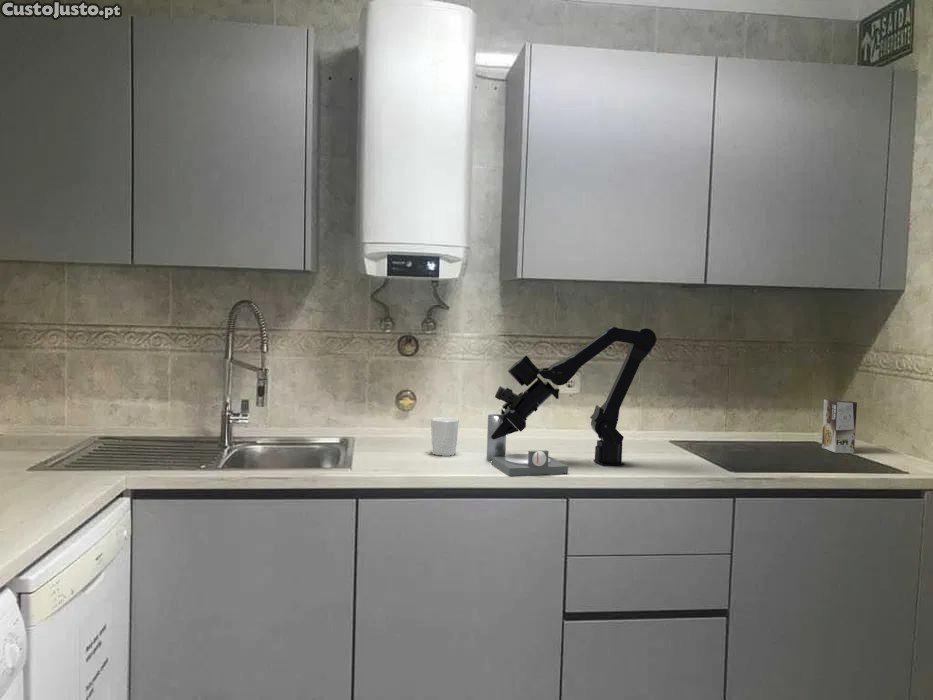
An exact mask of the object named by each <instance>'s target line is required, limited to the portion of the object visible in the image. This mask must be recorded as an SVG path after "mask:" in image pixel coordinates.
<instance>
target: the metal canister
mask: <svg viewBox="0 0 933 700" xmlns="http://www.w3.org/2000/svg"><path fill="white" fill-rule="evenodd" d="M502 418H503V415H501V414H499V413H496V414H495V413H492V414H491V413H490V414H488V415H487V430H486V431H487V433H486V435H487V436H486V437H487V440H486V442H487V443H486V461H487V460H488V461H487V462H489V461H492V457H506V456H507V455H506V452H507V451H506V450H507V449H506V447H507V435H505V436H502V437H500V438H497V439H494V440H493V439H492V438H491V436H492V434H493V433H494V432H495V430H496V429H497V428H498V426H499V425H500V424H501V423H502Z"/></svg>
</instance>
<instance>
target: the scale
mask: <svg viewBox="0 0 933 700" xmlns="http://www.w3.org/2000/svg"><path fill="white" fill-rule="evenodd" d="M491 465H492V466H493V465H494V466H493V467H494V468H496V467H497V468H496V469H498V470H499V469H500V471H501V472H502V471H503V472H502V473H504V474H505V473H506V474H505V475H506V476H508V477H523V476H525V477H526V476H527V475H528V476H543V475H542V474H552V475H567V474H566V473H568V474H569V466H568V465H567V464H564V463H562V462H560V460H559V461H558V460H557V459H555V458H553V457H551V456H549V451H548V450H544V449H543V450H528V453H518V454H517V453H516V454H508V455H505V457H492V462H491ZM564 473H565V474H564Z"/></svg>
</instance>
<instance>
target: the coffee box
mask: <svg viewBox="0 0 933 700" xmlns="http://www.w3.org/2000/svg"><path fill="white" fill-rule="evenodd" d="M857 408H858V402H856V401H850V400H847V399H843V398H842V399H839V398H830V399H829V398H824V399H823V412H822V413H823V418H822V437H821V439H822V440H821V448H822V449H824V450H827V451H830V452H833V453H834V454H835V453H837V454H854V453H855V444H856V443H855V442H856V427H857V426H856V424H857V411H858V410H857ZM853 452H854V453H853Z"/></svg>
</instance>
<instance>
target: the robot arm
mask: <svg viewBox="0 0 933 700" xmlns="http://www.w3.org/2000/svg"><path fill="white" fill-rule="evenodd" d="M615 342H619V343H627V349H626V357H625V359H624V360H623V363H622V364H621V368H620V370H619V372H618V374H617V376H616V378H615V379H614V382H613V385H612V387H611V389H610V391H609V393H608V395H607V397H606V399H605V401H604V403H603V404H601V406H599V405H598V404H596V405H595V407H594V411H593V413H592V415H590V417H589V418H590V420H591V421H590V426H591V429H592V430H593V432H594V433H596V435H597V437H598V440H596V446H595V447H594V449H595V450H594V458H593V461H594V462H595V463H597V464H599V465H601V466H606V467H607V466H625V462H623V460H622V459H623V441H624V437H625V436H623V434H622V433H620V432H619V431H618V430H617V426H618V422H619V415H620V408H621V406H622V404H623V402H624V400H625V398H626V396H627V394H628V392H629V389H630V388H631V385H632V383H633V380H634V378H635V375H636V374H637V372H638V369H639V367H640V365H641V363H642V361H643V360H644V359H646V357H647V356H648V355H649V354H650V352H651V351H652V349H653V348H654V347H655V345H656V343H657V335H656V333H655V332H654V331H653V330H652V329H650V328H646V327H637V328H635V329H633V330H631V329H626V328H619V327H616V326H608V327H607V328H605V329H604V331H603V332H601V333H600V334H599V335H597V336H596V337H595V338H593V339H592V340H590V341H589V342H588V343H586V344H585V345H583V346H582V347H581V348H580V349H578V350H577V351H575V352H574V353H573V354H571V355H569V356H567V357H565V358H562V359H560V360H558V361H556V362H554V363H552V364H551V365H549V367H541V368H538V367H537V366H536V365H535V364H534V363H533V362H532V360H531V358H529V357H528V355H524V356H523V357H522V358H521V359H519V360H518V361H517V362H515V363H513V365H512V366H510V367H509V369H508V370H507V372H508V374H509V375H510V376H512V377H513V378H514V379H515V381H516V382H517V383H518V384H519V385H520V386H521V387H522V386H524V385H525V386H526V387H528V388H527V389H526V390H525V391H524V392H519V393H518V394H517V393H514V392H513V389H511V388H509V387H506V388H505V387H503V386H501V385H500V386H499V387H498V389H497V391H496V393H495V395H494V397H495V399H496V400H499V401H500V400H501V401H503V402H504V404H503V405H501V406H502V408H501V411H500V413H501V415H503V418H502V423H501V424H500V425H499V426H498V428H497V429H496V430H495V432H494V433H493V434H492V436H491V438H492V439H493V440H494V439H497V438H500V437H502V436H505V435H506V436H508V435H511V434H513V433H517V432H519V431H520V433H521V432H522V431H523V430H525V429H526V427H527V422H526V421H528V418H529V416H530V415H532V414H533V413H534V412H537V411H538V410H539V409H538V408H539V407H540V406H542V404H543V403H544V402H545V401H547V400H548V399H549V398H550V397H551V396H552V397H554V398H555V399H556V400H559V398H560V395H559V392H560V389H559V388H557V387H556V388H555V387H554V386H553V385H552V384H554V385H557V386H564V385H566V384H567V383H568V382H569V381H570V380H572V378H573V377H574V376H575V375H576V374H577V372H578V371H579V369H581V368H582V366H584V365H585V364H587V362H589V361H591V360H592V359H593V358H594V357H597V356H598V355H599V354H600V353H601V352H603V351H604V350H605V349H607V348H608V347H610V346H611V345H612V344H613V343H615ZM538 375H539V376H540V377H542V378H543V379H545V380H546V381H545V382H544V381H543V380H542V379H541V378H540V377H539V376H538ZM547 380H549V381H550V382H551V383H552V384H551V383H550V382H549V381H547ZM503 409H504V410H503Z"/></svg>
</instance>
